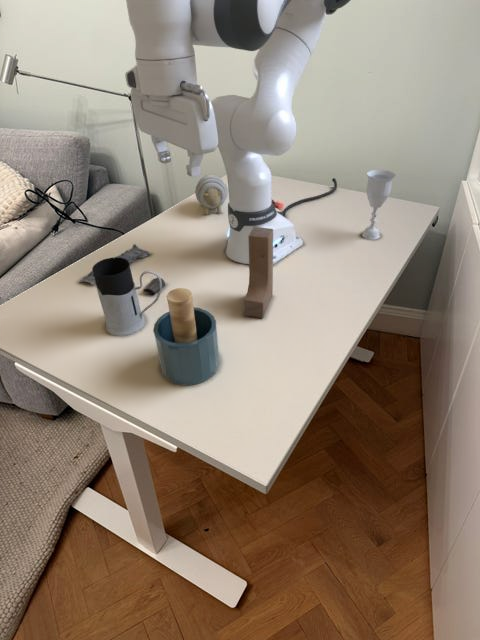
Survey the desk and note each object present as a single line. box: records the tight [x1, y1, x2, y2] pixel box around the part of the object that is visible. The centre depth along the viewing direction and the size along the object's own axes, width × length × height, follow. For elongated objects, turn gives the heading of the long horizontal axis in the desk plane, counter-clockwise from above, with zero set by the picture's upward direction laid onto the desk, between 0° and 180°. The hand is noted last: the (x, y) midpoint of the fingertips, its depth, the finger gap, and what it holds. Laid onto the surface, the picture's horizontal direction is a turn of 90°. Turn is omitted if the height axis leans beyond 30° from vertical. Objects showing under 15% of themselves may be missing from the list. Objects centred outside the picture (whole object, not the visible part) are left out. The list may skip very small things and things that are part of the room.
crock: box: [152, 306, 220, 386], centre depth 84 cm, size 12×12×10 cm
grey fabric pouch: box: [79, 243, 151, 285], centre depth 118 cm, size 21×7×2 cm, turn 143°
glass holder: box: [91, 256, 163, 337], centre depth 94 cm, size 9×14×15 cm, turn 88°
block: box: [143, 277, 166, 295], centre depth 109 cm, size 4×6×2 cm, turn 163°
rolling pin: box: [166, 287, 198, 344], centre depth 82 cm, size 4×4×16 cm
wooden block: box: [243, 227, 274, 319], centre depth 96 cm, size 9×4×18 cm, turn 163°
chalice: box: [361, 169, 396, 241], centre depth 121 cm, size 7×7×18 cm
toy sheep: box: [194, 174, 229, 215], centre depth 142 cm, size 11×17×11 cm, turn 10°
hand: (179, 168), depth 75 cm, fingers open, 8 cm apart
